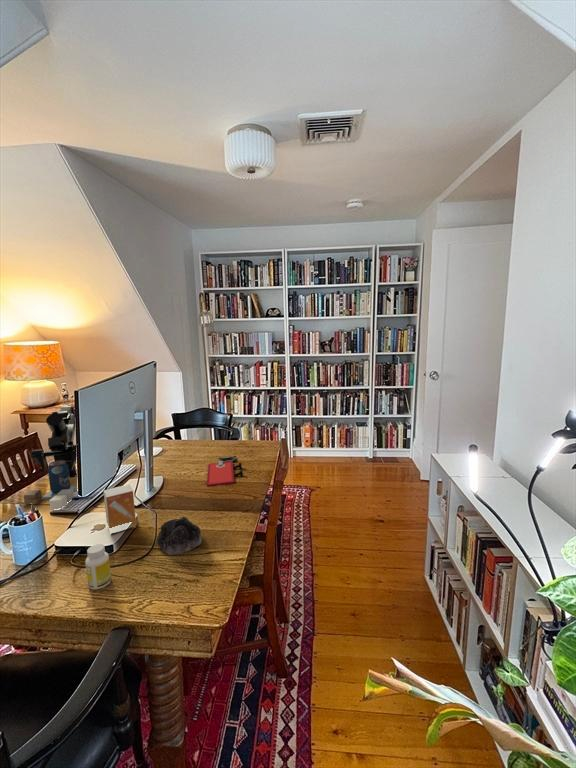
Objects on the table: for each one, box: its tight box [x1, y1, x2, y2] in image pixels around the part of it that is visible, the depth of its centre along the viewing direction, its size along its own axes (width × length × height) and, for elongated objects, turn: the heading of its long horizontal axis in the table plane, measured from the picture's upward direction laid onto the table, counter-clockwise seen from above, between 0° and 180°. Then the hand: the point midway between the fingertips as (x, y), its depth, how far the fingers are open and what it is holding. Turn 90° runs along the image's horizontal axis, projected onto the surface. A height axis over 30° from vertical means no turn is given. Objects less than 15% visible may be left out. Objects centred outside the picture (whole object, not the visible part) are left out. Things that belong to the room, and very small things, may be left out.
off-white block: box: [48, 495, 67, 511], centre depth 136 cm, size 4×4×4 cm
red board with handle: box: [206, 455, 244, 487], centre depth 167 cm, size 30×3×15 cm
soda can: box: [47, 460, 72, 494], centre depth 147 cm, size 7×7×12 cm
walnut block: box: [23, 489, 43, 505], centre depth 141 cm, size 4×4×4 cm
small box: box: [103, 484, 137, 529], centre depth 121 cm, size 8×6×13 cm
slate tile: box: [42, 485, 78, 501], centre depth 148 cm, size 9×9×1 cm
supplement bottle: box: [84, 543, 112, 590], centre depth 95 cm, size 5×5×10 cm
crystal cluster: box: [156, 516, 203, 556], centre depth 111 cm, size 13×14×10 cm
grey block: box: [57, 489, 75, 502], centre depth 141 cm, size 4×4×4 cm
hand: (58, 472), depth 147 cm, fingers open, 9 cm apart
